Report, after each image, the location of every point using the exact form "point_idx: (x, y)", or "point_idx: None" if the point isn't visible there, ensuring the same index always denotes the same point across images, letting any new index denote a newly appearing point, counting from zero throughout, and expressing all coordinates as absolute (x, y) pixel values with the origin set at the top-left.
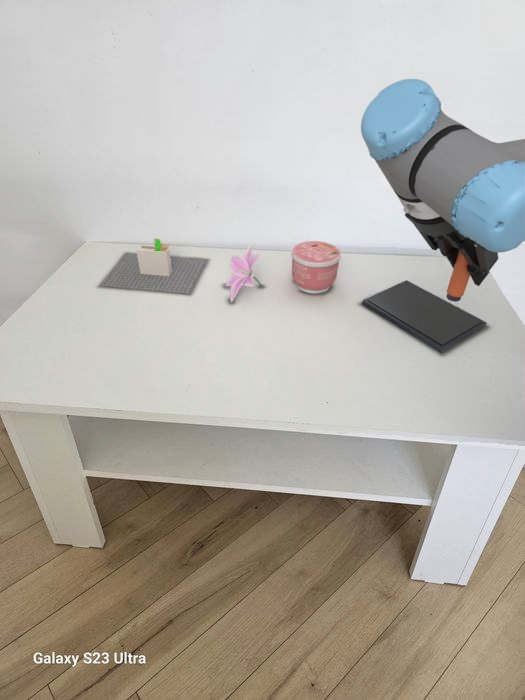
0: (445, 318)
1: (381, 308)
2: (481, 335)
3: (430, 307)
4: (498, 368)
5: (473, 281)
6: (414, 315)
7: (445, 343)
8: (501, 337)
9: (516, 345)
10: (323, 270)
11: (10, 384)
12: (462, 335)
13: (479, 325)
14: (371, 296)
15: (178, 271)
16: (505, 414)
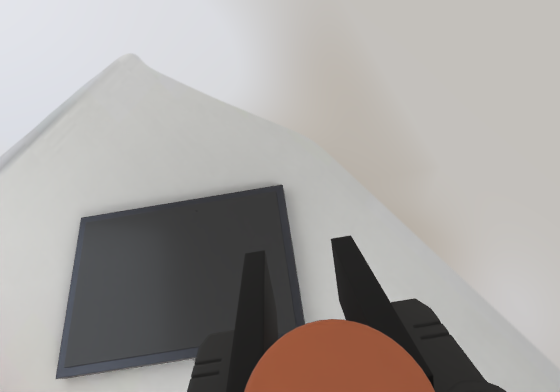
0: (229, 249)
1: (112, 360)
2: (299, 216)
3: (182, 248)
4: (396, 266)
5: (346, 319)
6: (182, 305)
7: (294, 317)
8: (322, 188)
9: (352, 183)
10: None
11: None
12: (290, 260)
13: (281, 203)
14: (62, 343)
15: None
16: (528, 374)
